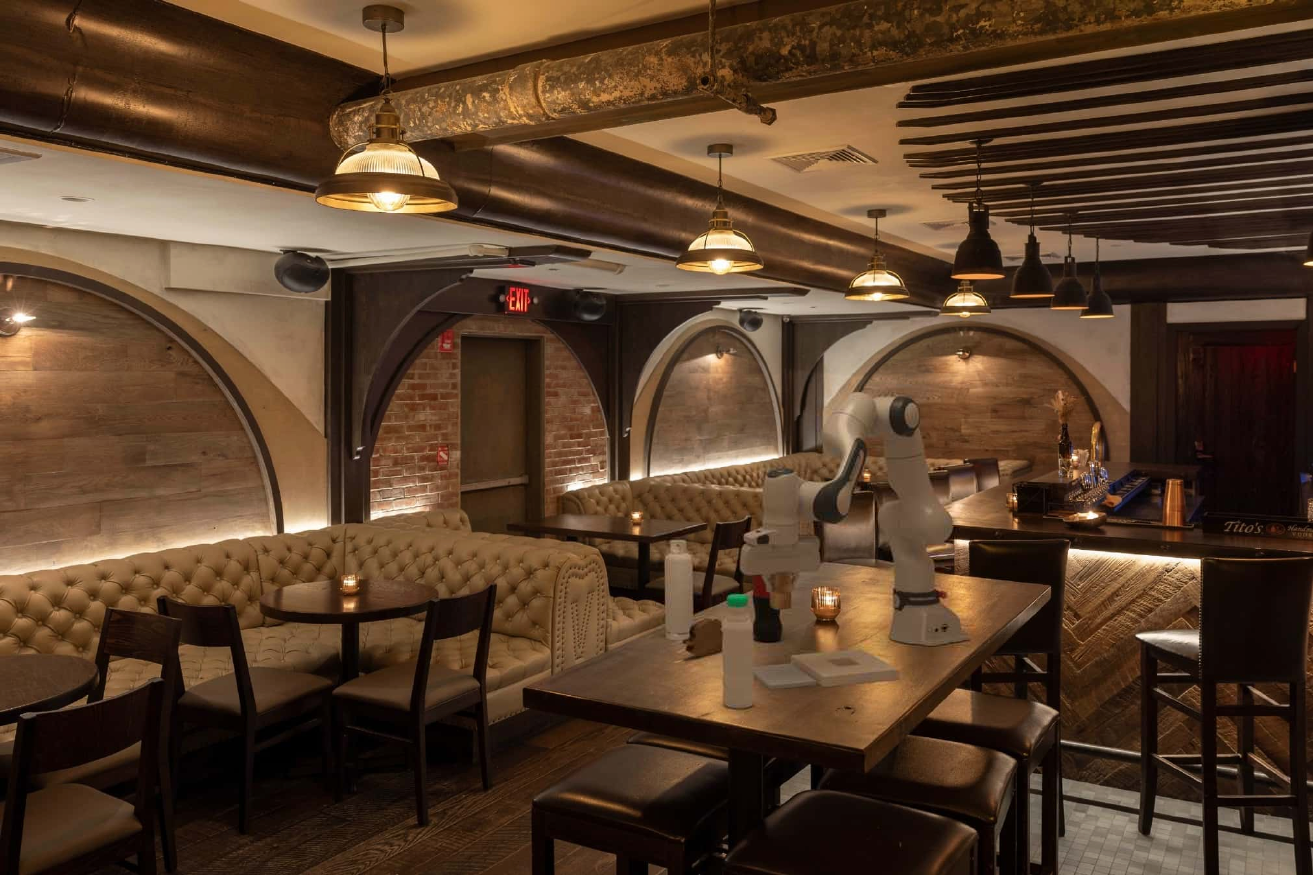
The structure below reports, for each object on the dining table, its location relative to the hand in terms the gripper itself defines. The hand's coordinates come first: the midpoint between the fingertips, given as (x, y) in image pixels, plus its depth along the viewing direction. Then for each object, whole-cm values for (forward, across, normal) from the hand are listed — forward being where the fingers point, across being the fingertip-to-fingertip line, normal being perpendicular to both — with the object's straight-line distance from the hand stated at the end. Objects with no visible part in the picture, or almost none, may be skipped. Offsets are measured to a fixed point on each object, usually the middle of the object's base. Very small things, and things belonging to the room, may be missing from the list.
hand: (780, 591), depth 240 cm
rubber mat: (+22, 0, 0) cm, 22 cm away
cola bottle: (+22, -11, -36) cm, 44 cm away
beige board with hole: (+22, -17, 0) cm, 27 cm away
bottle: (+22, +12, -47) cm, 53 cm away
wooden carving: (+22, +11, -26) cm, 36 cm away
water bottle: (+22, +17, +16) cm, 32 cm away
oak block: (+4, 0, 0) cm, 4 cm away
